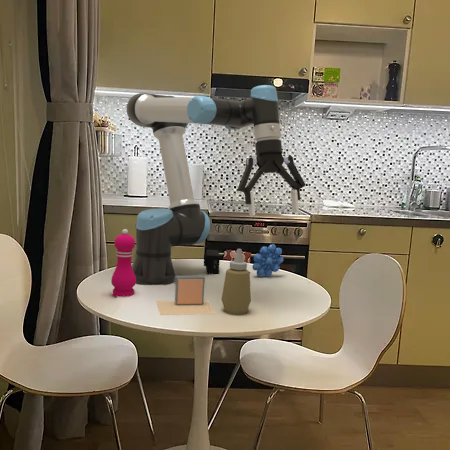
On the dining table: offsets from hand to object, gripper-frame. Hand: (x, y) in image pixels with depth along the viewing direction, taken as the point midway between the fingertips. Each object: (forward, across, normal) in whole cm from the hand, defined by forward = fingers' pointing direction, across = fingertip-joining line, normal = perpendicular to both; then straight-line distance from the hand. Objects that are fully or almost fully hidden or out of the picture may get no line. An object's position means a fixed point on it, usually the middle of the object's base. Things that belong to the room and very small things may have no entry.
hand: (274, 214), depth 148 cm
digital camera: (+18, -7, +46) cm, 50 cm away
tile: (+23, -26, +7) cm, 35 cm away
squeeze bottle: (+27, -15, -1) cm, 30 cm away
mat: (+24, -28, +4) cm, 37 cm away
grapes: (+22, +11, +36) cm, 43 cm away
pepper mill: (+20, -42, +19) cm, 51 cm away
